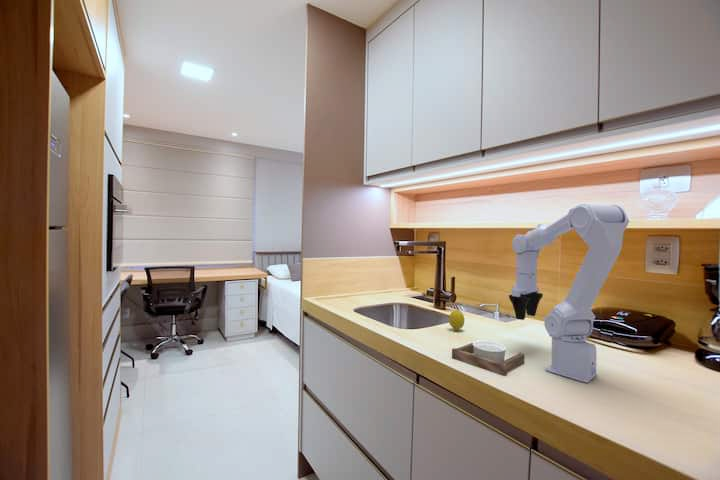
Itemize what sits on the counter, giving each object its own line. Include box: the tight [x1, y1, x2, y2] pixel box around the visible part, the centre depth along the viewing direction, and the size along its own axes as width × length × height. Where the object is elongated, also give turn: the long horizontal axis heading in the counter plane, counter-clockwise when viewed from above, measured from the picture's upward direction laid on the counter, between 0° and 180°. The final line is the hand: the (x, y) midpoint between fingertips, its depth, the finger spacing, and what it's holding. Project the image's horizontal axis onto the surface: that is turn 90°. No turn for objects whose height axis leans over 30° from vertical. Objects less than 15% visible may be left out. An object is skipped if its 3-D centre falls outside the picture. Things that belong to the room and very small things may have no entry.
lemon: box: [448, 309, 465, 331], centre depth 121 cm, size 6×6×8 cm
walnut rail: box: [451, 341, 525, 377], centre depth 91 cm, size 16×13×2 cm
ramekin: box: [472, 340, 507, 363], centre depth 91 cm, size 9×9×4 cm
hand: (525, 317), depth 99 cm, fingers open, 7 cm apart
